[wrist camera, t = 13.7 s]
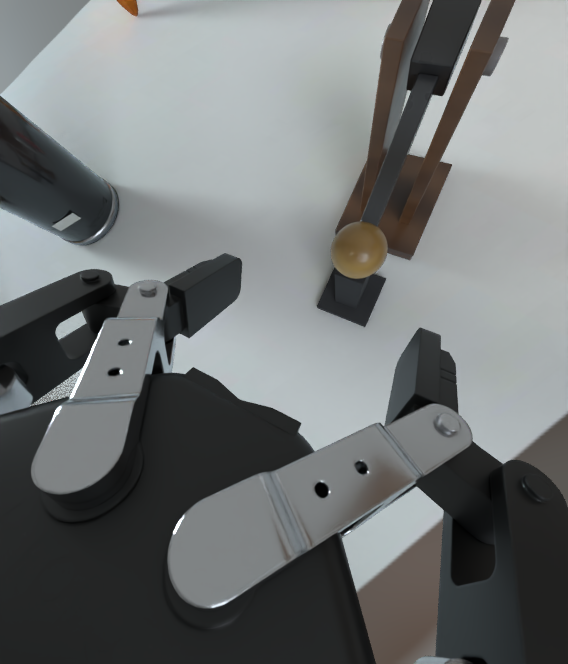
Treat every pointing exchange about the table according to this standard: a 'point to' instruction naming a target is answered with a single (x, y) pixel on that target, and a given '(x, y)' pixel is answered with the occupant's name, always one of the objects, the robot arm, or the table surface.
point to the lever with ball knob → (406, 131)
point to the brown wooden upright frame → (429, 173)
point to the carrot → (130, 6)
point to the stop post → (351, 296)
